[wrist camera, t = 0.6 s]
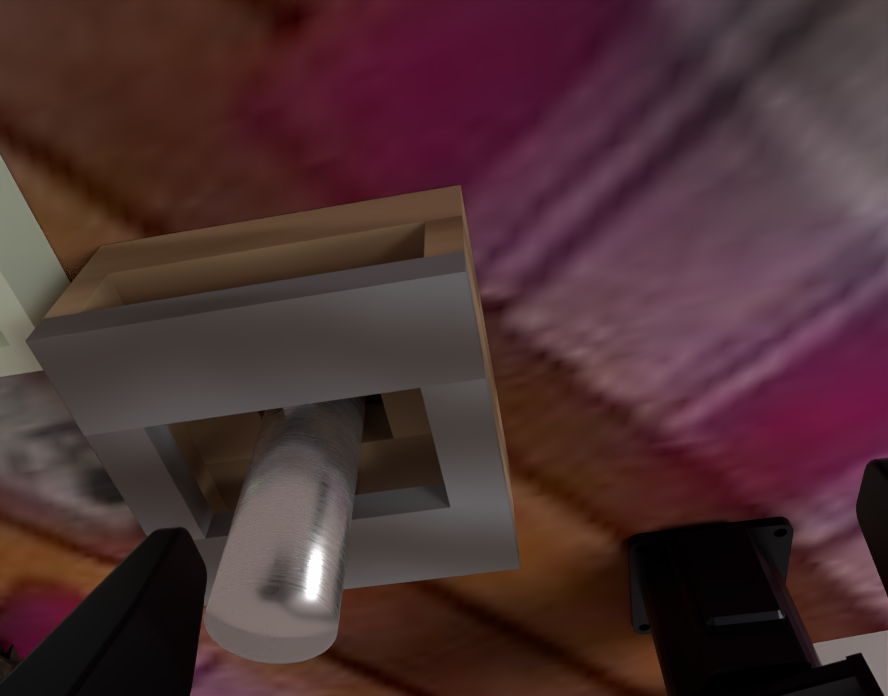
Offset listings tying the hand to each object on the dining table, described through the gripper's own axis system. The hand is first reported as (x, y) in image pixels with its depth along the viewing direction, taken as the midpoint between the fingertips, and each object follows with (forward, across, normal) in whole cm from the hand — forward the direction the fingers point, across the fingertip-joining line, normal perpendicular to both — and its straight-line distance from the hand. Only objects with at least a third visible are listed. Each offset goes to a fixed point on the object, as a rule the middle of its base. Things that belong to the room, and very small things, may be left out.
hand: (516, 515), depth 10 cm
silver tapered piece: (+13, +6, +6) cm, 16 cm away
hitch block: (+13, +6, +6) cm, 16 cm away
